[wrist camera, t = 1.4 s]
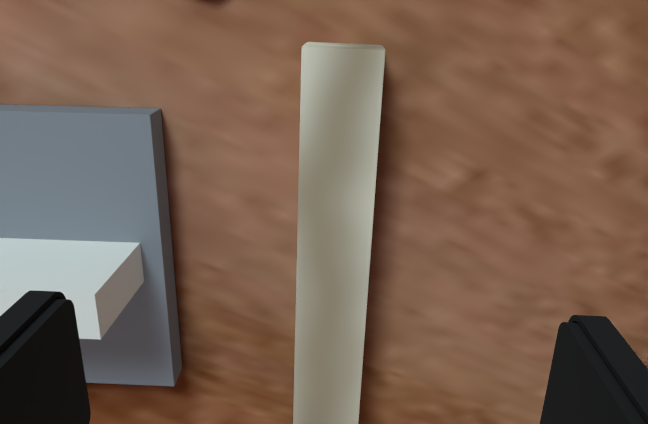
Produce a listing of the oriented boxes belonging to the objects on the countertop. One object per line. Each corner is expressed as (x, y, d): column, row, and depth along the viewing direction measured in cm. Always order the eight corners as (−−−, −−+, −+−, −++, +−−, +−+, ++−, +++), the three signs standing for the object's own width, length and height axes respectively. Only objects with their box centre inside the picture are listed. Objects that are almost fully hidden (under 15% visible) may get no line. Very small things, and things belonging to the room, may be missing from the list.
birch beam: (381, 44, 25) (385, 50, 22) (353, 445, 32) (353, 491, 29) (307, 41, 25) (301, 46, 22) (297, 442, 32) (291, 486, 29)
